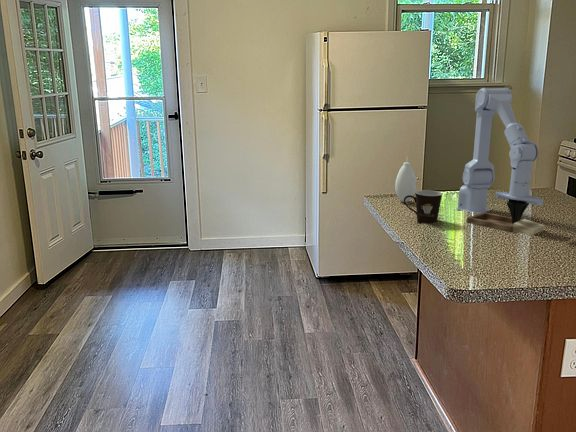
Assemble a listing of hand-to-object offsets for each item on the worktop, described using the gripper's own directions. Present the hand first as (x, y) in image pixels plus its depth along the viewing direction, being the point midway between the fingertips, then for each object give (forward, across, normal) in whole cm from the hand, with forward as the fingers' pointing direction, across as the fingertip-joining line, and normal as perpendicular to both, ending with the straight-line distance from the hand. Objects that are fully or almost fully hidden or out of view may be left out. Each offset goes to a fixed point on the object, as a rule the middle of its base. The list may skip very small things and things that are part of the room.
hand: (515, 223), depth 172 cm
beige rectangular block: (+2, +4, 0) cm, 4 cm away
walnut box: (+2, -6, 0) cm, 7 cm away
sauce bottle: (+2, -47, +6) cm, 47 cm away
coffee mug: (+2, -26, -13) cm, 29 cm away
